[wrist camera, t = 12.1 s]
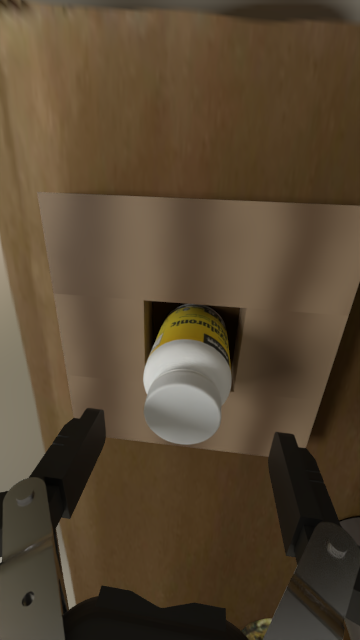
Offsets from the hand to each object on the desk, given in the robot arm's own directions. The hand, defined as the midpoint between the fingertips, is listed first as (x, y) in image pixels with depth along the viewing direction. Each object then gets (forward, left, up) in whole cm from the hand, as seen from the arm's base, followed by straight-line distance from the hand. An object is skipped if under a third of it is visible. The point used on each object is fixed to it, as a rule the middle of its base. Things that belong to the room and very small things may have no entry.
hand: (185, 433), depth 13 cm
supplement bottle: (0, 0, -11) cm, 11 cm away
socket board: (0, 0, -11) cm, 11 cm away
